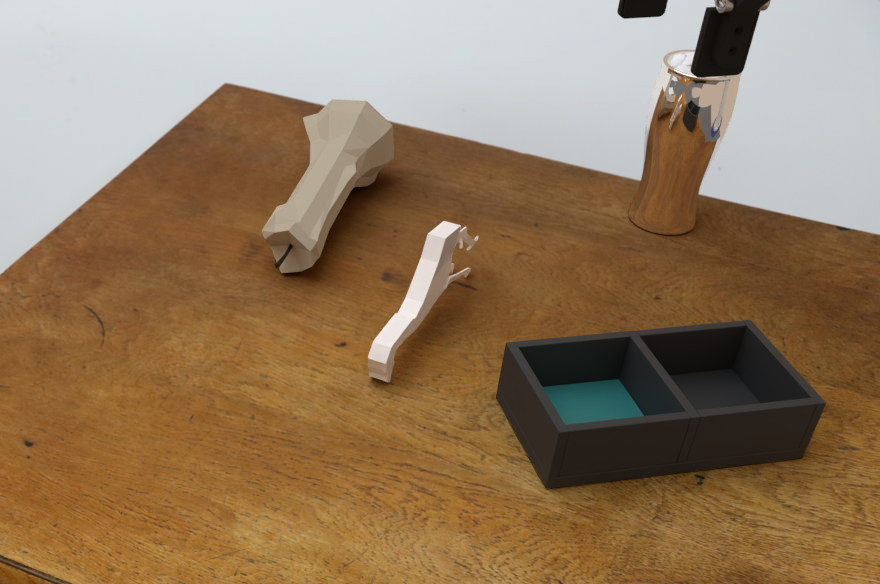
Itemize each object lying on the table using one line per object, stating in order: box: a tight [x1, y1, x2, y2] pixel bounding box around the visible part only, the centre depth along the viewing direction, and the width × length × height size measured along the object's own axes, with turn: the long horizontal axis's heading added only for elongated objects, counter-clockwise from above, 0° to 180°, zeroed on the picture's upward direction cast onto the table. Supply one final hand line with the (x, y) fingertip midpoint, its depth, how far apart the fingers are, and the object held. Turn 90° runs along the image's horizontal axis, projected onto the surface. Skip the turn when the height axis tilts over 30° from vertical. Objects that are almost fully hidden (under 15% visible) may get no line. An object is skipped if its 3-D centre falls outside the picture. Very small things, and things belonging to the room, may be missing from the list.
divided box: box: [495, 319, 827, 490], centre depth 78 cm, size 19×10×5 cm, turn 102°
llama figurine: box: [367, 220, 480, 383], centre depth 87 cm, size 2×11×18 cm
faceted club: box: [261, 98, 395, 274], centre depth 98 cm, size 9×8×25 cm
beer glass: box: [627, 49, 743, 236], centre depth 99 cm, size 7×7×15 cm
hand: (676, 43), depth 69 cm, fingers open, 9 cm apart
